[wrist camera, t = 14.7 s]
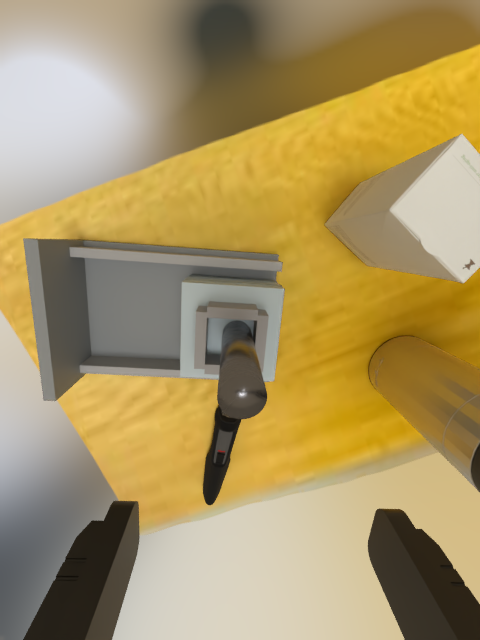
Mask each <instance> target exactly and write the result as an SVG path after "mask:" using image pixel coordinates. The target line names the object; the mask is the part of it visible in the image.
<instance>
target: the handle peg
mask: <svg viewBox="0 0 480 640" xmlns="http://www.w3.org/2000/svg"><path fill="white" fill-rule="evenodd" d="M217 399H218V404H219V406H220V408H221V410H222V411H223V412H224V413H225V414H227V415H228V416H230V417H233V418H236V419H247V418H251V417H253V416H255V415H257V414H258V413H259V412H260V411H261V410H262V409H263V408H264V406H265V404H266V401H267V392H266V388H265V384H264V380H263V376H262V372H261V368H260V364H259V360H258V356H257V352H256V348H255V344H254V340H253V336H252V332H251V329H250V327H249V326H248V325H247V324H246V323H245V322H243V321H238V320H236V321H231V322H229V323H228V324H227V325H226V326H225V327H224V329H223V332H222V342H221V356H220V369H219V382H218V395H217Z"/></svg>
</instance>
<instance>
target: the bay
mask: <svg viewBox="0 0 480 640" xmlns="http://www.w3.org/2000/svg"><path fill="white" fill-rule="evenodd" d="M23 240H24V248H25V256H26V264H27V272H28V280H29V288H30V296H31V304H32V312H33V320H34V327H35V335H36V343H37V351H38V359H39V367H40V375H41V383H42V391H43V399H44V400H45V401H46V400H47V401H56V400H57V399H59V398H60V397H61V396H62V395H63V394H64V393H65V392H66V391H67V390H68V389H69V388H71V387H72V386H73V385H74V384H75V383H76V382H77V381H78V380H79V379H80V378H82V377H83V376H84V375H85V374H86V373H91V374H112V375H132V376H153V377H174V378H194V377H180V351H181V295H182V281H184V279H185V278H187V277H188V276H189V275H191V274H196V275H210V276H225V277H239V278H254V279H269V280H274V281H276V274H277V271H281V272H282V263H283V262H280V261H278V256H279V255H277V254H264V253H250V252H237V251H223V250H210V249H196V248H183V247H169V246H156V245H142V244H129V243H115V242H101V241H88V240H68V239H23ZM195 379H215V378H195ZM216 380H219V379H216ZM264 382H269V381H264Z"/></svg>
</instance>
